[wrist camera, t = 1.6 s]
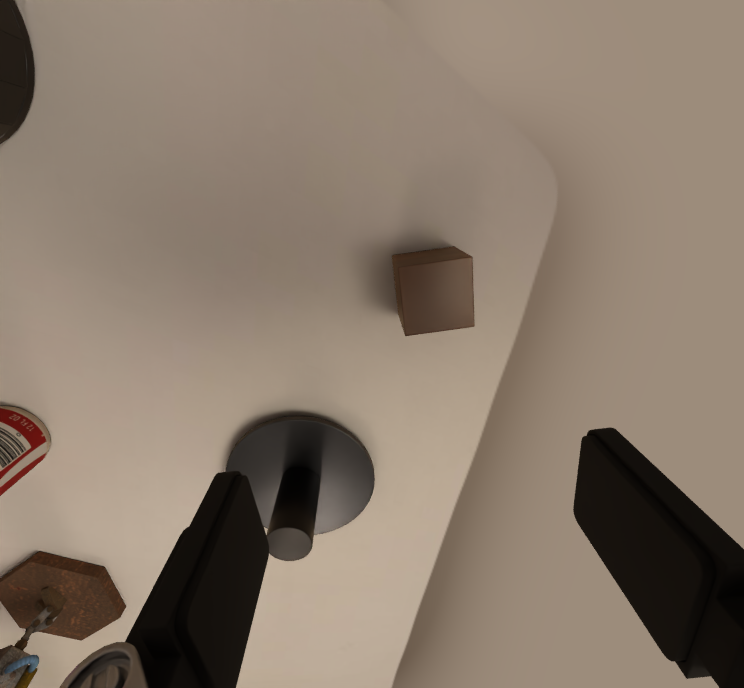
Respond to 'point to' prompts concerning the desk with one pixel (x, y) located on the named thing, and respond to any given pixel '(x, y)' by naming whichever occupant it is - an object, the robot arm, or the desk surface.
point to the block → (434, 290)
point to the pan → (14, 69)
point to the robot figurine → (53, 607)
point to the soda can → (20, 444)
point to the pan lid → (303, 479)
